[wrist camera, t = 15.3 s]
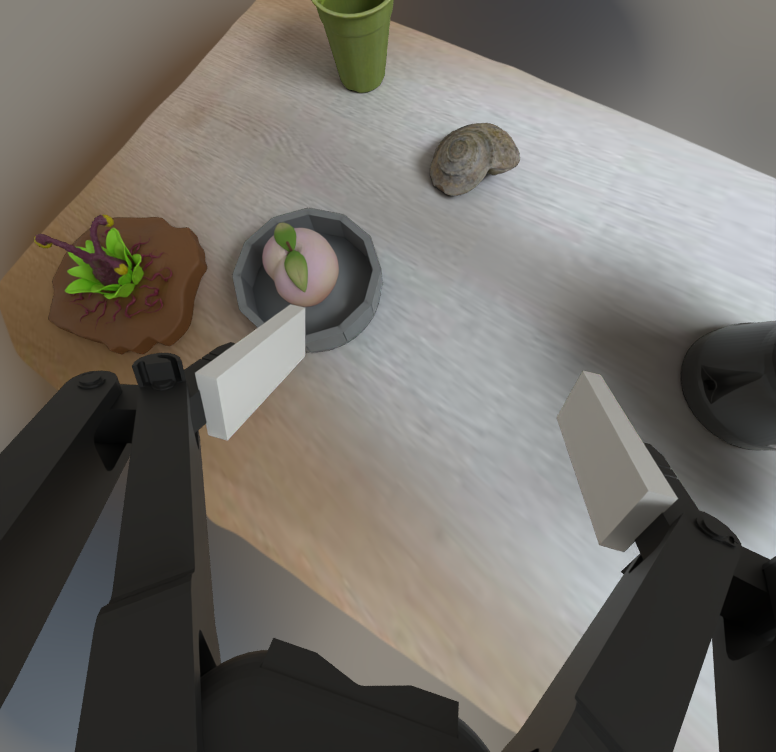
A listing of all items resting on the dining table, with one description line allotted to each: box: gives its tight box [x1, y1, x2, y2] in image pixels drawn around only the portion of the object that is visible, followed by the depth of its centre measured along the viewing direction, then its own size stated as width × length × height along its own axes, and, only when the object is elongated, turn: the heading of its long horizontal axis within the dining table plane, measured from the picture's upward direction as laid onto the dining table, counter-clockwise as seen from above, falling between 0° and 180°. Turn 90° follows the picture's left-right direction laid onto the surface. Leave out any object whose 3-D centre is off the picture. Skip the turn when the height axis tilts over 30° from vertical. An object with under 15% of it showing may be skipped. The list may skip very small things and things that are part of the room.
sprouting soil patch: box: [34, 215, 207, 354], centre depth 41 cm, size 20×20×11 cm
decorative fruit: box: [262, 222, 339, 307], centre depth 39 cm, size 9×8×10 cm
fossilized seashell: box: [430, 123, 520, 196], centre depth 46 cm, size 11×11×7 cm
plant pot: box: [311, 0, 393, 93], centre depth 48 cm, size 12×12×11 cm
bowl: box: [233, 208, 383, 353], centre depth 43 cm, size 18×18×4 cm
